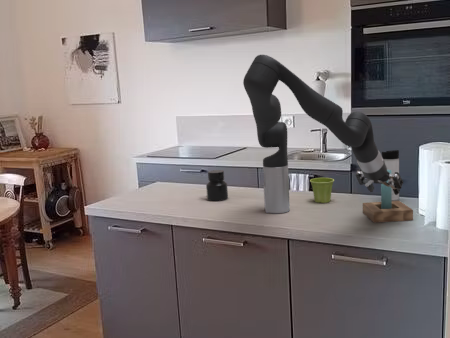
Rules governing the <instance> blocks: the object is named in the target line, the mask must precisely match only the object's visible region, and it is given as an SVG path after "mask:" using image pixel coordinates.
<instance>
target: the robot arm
mask: <svg viewBox="0 0 450 338" xmlns="http://www.w3.org/2000/svg"><path fill="white" fill-rule="evenodd" d="M279 81H280V82H281V83H283V84H285V86H286V87H287V88H288V89H289V90H290V91H291V92H292V94H293V95H294V98H295V99H296V101H297V102H298V104H299V106H300V107H301V109H302V111H304V113H305V114H306V115H307V116H308V117H310V118H311V119H312V120H314V121H316V122H318V123H319V124H322V125H323V126H324V127H326V128H327V129H328V130H329V131H330V132H331V133H332V134H333V135H334V136H335V138H337V139H338V141H340V142H341V143H342V144H344V145H345V146H347V147H350V148H351V151H352V153H353V155H354V157H355V158H356V162H357V164H358V166H359V168H360V169H359V168H358V169H357V171H356V174H355V177H356V179H357V181H358V184H359V185H360V186H363V185H364V186H365V187H366V189H367V190H368V191H369V192H370V193H373V192H374V190H375V186H374V184H380V185H381V184H384V185H386V186H387V187H389V186H390V187H391V188H393V191H394V193H395V195H398V194H399V195H400V191H401V189H402V188H403V184H404V181H403V180H404V179H402V177H401V175H400V172H399V173H398V172H395V174H390V173H389V172H388V171H387V167H386V165H385V162H384V160H383V158H382V152H380V150H379V149H378V147H377V145H376V142H375V139H374V131H373V130H374V129H373V125H372V122H371V119H370V118H369V116H367V114H366V113H364V112H362V111H352V112H351V113H349V115H348V116H347V117H346V118H345V121H344V118H343V108H342V107H341V106H340V105H338V104H337V103H335V102H334V101H332V100H330V99H329V98H327V97H325V96H324V95H322V94H320V93H319V92H317V91H316V90H315V89H314V88H312V87H310V86H309V84H307V83H306V82H304V81H303V80H302V79H301V78H300V77H298V76H297V75H296V74H295V73H294V72H292V71H291V69H289V68H287V67H286V66H285V65H284V64H283V63H282V62H280V61H278V60H277V59H276V58H274V57H272V56H270V55H267V54H258V55H256V56H255V57H254V59H253V60H252V62H251V64H250V66H249V67H248V69H247V71H246V73H245V75H244V77H243V82H242V83H243V84H242V85H243V87H244V90H245V93H246V94H247V96H248V99H249V102H250V105H251V108H252V109H251V111H252V114H253V117H254V121H255V125H256V133H257V142H258V143H259V145H260V146H261V147H262V148H265V149H268V148H270V149H271V148H278V150H277V151H276V152H275V153H272V154H271V155H269V156H266V157H263V159H262V168H263V173H262V174H263V198H264V199H263V200H264V211H265V213H267V214H283V213H288V212H289V211H290V209H291V208H290V206H291V205H290V203H291V202H290V184H289V183H290V182H289V161H288V160H289V159H288V126H287V124H286V122H285V121H284V122H283V121H280V119H281V118H282V107H281V102H280V99H279V97H277V96H276V95H274V94H273V92H274V91H275V88H276V86H277V85H278V82H279ZM388 179H389V180H388ZM387 181H388V183H387ZM392 182H393V183H394V184H393V185H392Z"/></svg>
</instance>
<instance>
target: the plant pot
mask: <svg viewBox="0 0 450 338" xmlns="http://www.w3.org/2000/svg"><path fill="white" fill-rule="evenodd" d="M309 182H310V183H311V187H312V191H313V198H314V203H322V204H325V203H326V204H327V203H329V202H331V199H332V190H333V185H334V182H335V179H334V178H331V177H315V178H311V179H310V180H309Z"/></svg>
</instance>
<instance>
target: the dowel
mask: <svg viewBox="0 0 450 338" xmlns="http://www.w3.org/2000/svg"><path fill="white" fill-rule="evenodd" d="M387 171H388V172H389V173H390V174H392V173H391V170H387ZM388 180H389V179H388ZM387 183H388V181H387ZM380 199H381V201H380V202H381V209H392V188H391V187H390V186H389V187H387V186H386V185H384V184H380Z"/></svg>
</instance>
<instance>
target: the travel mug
mask: <svg viewBox="0 0 450 338" xmlns="http://www.w3.org/2000/svg"><path fill="white" fill-rule="evenodd" d="M381 156H382V158H383V160H384V162H385V165H386V167H387V170H391V173H392V174H395V172H398V173H399V174H400V157H399V156H400V150H398V149H395V150H386V151H381ZM393 184H394V183H393V182H392V185H393ZM392 201H400V193H399V194H398V195H395V193H394V191H393V188H392Z"/></svg>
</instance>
